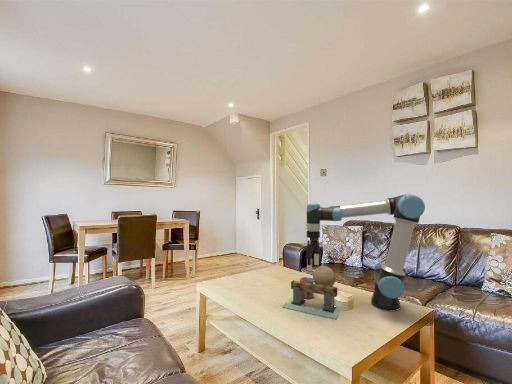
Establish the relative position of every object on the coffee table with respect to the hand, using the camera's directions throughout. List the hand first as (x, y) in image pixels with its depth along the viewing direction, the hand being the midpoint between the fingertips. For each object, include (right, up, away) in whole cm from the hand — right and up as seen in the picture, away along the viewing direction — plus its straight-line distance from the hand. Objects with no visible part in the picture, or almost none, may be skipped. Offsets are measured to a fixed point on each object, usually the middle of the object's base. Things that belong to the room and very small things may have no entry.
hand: (313, 267), depth 151 cm
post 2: (+8, -22, -5) cm, 24 cm away
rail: (0, -14, 0) cm, 14 cm away
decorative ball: (+13, -22, +28) cm, 38 cm away
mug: (0, -22, +14) cm, 26 cm away
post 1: (-8, -22, +4) cm, 23 cm away
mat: (-4, -22, -7) cm, 23 cm away
